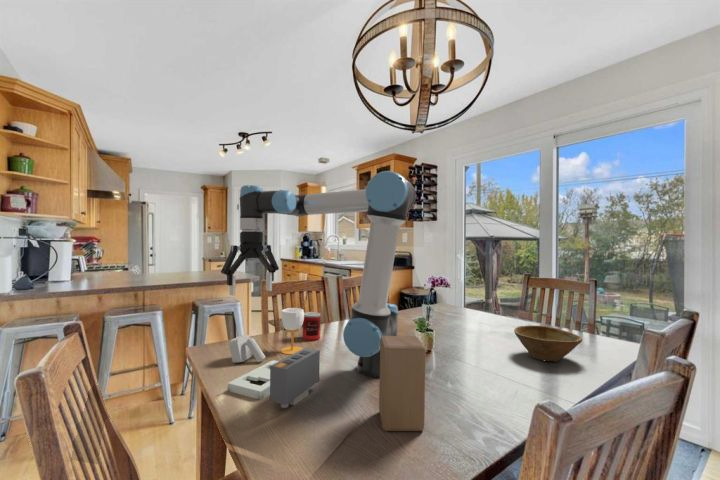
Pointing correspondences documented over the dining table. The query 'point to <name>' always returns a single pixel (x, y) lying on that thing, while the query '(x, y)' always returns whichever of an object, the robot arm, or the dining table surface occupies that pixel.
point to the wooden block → (402, 383)
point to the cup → (292, 326)
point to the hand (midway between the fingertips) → (251, 292)
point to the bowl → (547, 341)
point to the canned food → (311, 326)
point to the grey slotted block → (294, 376)
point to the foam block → (299, 397)
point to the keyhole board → (252, 390)
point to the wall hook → (244, 349)
